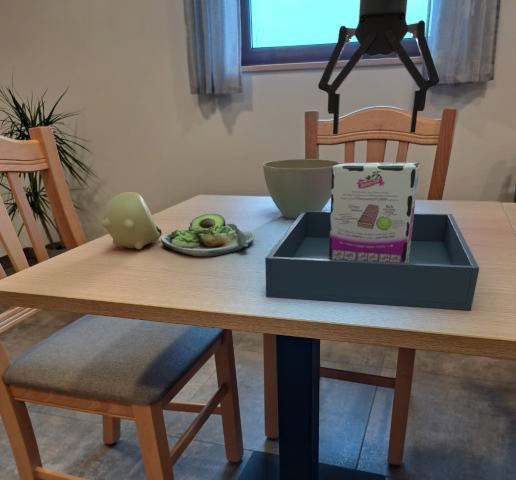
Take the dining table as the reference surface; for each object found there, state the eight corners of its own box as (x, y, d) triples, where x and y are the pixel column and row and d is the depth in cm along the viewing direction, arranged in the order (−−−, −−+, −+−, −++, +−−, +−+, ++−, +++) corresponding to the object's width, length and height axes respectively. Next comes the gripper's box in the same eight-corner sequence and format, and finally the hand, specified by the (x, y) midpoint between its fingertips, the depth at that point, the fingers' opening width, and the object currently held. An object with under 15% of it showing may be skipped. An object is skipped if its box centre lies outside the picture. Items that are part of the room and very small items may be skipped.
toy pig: (159, 265, 93) (175, 221, 97) (131, 230, 82) (150, 182, 86) (118, 259, 96) (135, 217, 99) (85, 226, 85) (106, 179, 89)
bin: (446, 245, 87) (451, 213, 85) (471, 310, 60) (479, 268, 58) (302, 239, 94) (303, 210, 91) (266, 296, 67) (265, 257, 64)
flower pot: (254, 222, 109) (252, 167, 103) (276, 207, 124) (275, 158, 118) (330, 225, 103) (332, 168, 98) (343, 209, 119) (346, 158, 113)
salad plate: (280, 246, 90) (279, 222, 87) (200, 266, 80) (198, 240, 78) (225, 229, 103) (223, 208, 101) (152, 244, 94) (149, 221, 92)
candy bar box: (407, 277, 70) (422, 161, 62) (402, 288, 66) (417, 166, 58) (335, 270, 74) (340, 160, 66) (326, 280, 70) (331, 164, 62)
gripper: (303, -11, 73) (302, 135, 83) (471, -25, 68) (448, 132, 78) (309, -2, 80) (307, 133, 90) (463, -15, 75) (443, 130, 84)
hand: (373, 133), depth 84 cm, fingers open, 13 cm apart
